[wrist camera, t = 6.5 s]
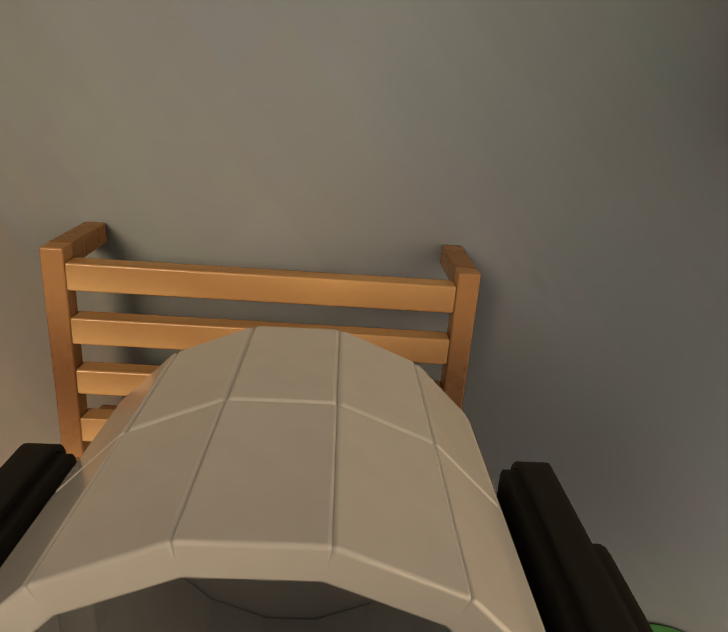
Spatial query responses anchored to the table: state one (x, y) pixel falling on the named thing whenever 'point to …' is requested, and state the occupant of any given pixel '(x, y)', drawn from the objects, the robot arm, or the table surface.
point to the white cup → (274, 504)
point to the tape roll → (662, 628)
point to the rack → (74, 327)
